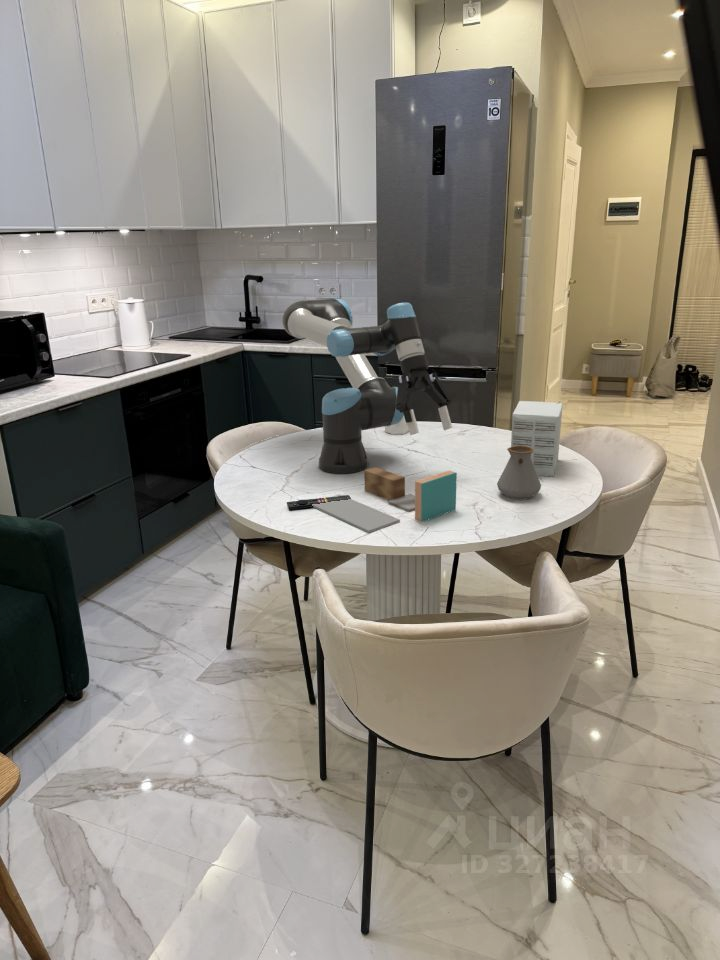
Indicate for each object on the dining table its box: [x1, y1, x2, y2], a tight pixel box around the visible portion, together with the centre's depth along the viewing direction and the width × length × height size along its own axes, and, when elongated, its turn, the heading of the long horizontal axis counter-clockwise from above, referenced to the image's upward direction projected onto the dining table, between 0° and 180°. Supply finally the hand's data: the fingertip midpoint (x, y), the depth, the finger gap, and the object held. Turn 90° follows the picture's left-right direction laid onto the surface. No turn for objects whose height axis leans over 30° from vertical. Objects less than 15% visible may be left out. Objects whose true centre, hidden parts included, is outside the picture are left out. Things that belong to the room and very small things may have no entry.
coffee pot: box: [496, 446, 542, 501], centre depth 173 cm, size 21×12×15 cm, turn 166°
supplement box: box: [509, 400, 563, 477], centre depth 200 cm, size 17×13×18 cm
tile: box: [414, 470, 457, 523], centre depth 167 cm, size 2×12×10 cm, turn 129°
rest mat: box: [311, 494, 401, 534], centre depth 170 cm, size 24×10×1 cm, turn 40°
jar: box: [384, 408, 411, 435], centre depth 241 cm, size 9×8×12 cm
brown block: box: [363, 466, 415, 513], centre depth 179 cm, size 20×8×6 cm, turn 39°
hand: (431, 431), depth 186 cm, fingers open, 13 cm apart
